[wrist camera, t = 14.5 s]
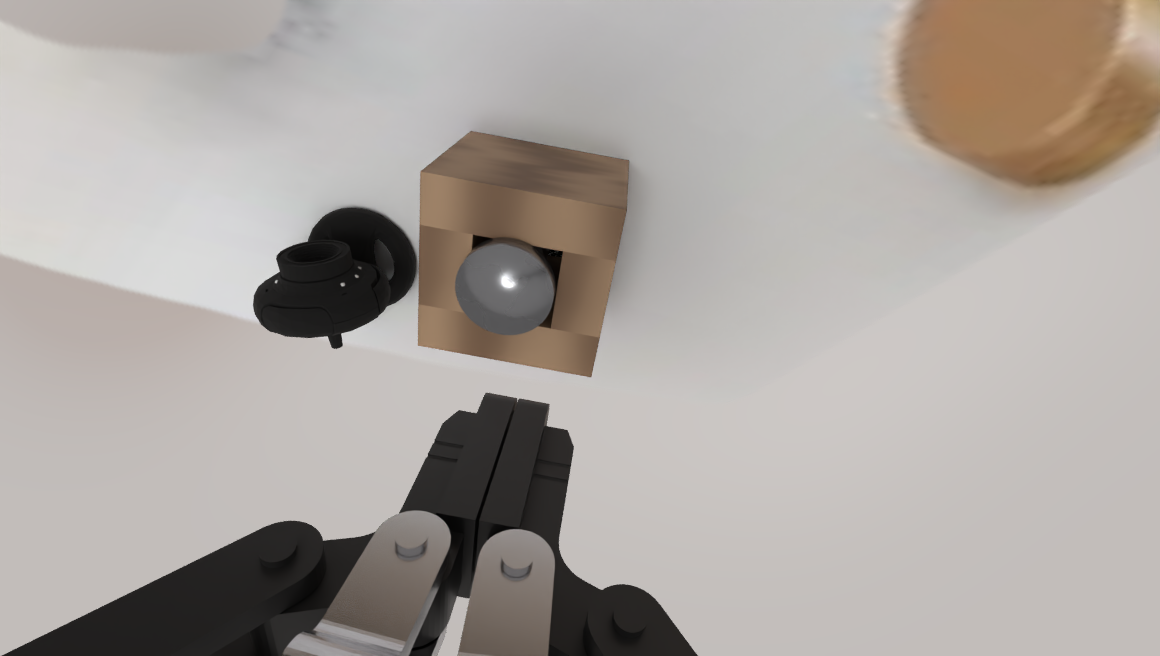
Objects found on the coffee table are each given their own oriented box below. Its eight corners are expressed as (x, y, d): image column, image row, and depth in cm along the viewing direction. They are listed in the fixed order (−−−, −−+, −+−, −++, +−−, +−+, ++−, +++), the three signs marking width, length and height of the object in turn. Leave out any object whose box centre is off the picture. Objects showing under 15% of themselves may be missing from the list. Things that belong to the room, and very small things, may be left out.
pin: (578, 194, 36) (560, 257, 27) (566, 264, 38) (545, 343, 30) (501, 178, 36) (457, 237, 27) (494, 250, 38) (452, 325, 30)
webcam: (411, 207, 38) (345, 268, 29) (426, 305, 42) (371, 385, 33) (300, 203, 38) (203, 262, 30) (325, 300, 42) (245, 377, 34)
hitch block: (628, 160, 35) (626, 209, 27) (600, 300, 40) (591, 377, 32) (470, 131, 35) (420, 171, 27) (462, 274, 40) (417, 345, 32)
